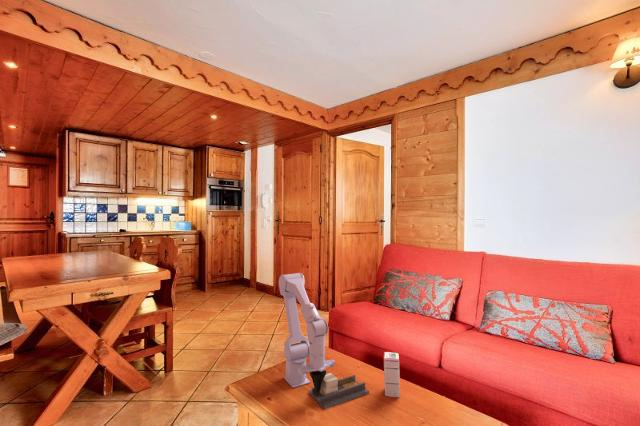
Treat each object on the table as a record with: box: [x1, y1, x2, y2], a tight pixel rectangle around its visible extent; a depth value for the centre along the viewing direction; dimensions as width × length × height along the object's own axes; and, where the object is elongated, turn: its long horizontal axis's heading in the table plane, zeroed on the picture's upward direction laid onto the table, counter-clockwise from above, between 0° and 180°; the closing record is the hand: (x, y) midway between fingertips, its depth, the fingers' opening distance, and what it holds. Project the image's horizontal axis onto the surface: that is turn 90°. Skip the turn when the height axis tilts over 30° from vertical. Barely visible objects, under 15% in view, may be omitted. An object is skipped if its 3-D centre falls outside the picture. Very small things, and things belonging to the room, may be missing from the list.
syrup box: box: [383, 351, 401, 398], centre depth 121 cm, size 6×6×14 cm
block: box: [320, 372, 339, 395], centre depth 119 cm, size 5×5×6 cm
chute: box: [308, 374, 370, 410], centre depth 121 cm, size 12×20×3 cm, turn 119°
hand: (317, 389), depth 117 cm, fingers closed
